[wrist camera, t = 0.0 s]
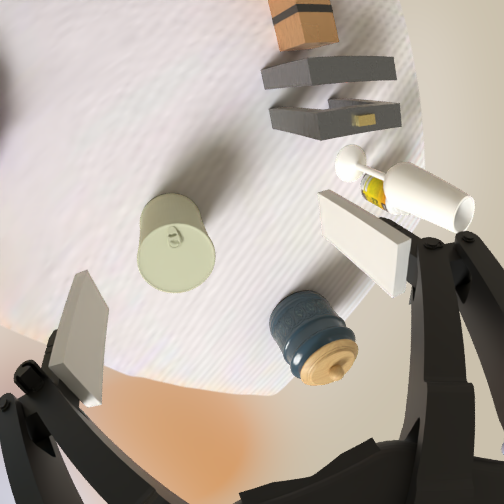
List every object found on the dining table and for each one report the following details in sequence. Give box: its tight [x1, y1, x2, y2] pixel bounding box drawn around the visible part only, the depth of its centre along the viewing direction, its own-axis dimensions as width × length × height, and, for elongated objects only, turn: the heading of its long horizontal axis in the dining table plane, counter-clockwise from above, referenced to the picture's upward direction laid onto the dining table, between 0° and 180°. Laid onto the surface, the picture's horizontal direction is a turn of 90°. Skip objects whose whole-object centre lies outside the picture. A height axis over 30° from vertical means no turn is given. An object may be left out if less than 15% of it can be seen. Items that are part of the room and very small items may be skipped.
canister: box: [269, 291, 358, 386], centre depth 52 cm, size 13×13×18 cm
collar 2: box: [269, 98, 402, 141], centre depth 35 cm, size 3×12×15 cm, turn 102°
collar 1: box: [261, 56, 397, 90], centre depth 32 cm, size 3×12×14 cm, turn 102°
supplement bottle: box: [360, 174, 410, 216], centre depth 47 cm, size 6×6×10 cm
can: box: [137, 193, 215, 293], centre depth 38 cm, size 9×9×12 cm
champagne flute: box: [335, 145, 475, 234], centre depth 38 cm, size 7×7×24 cm
